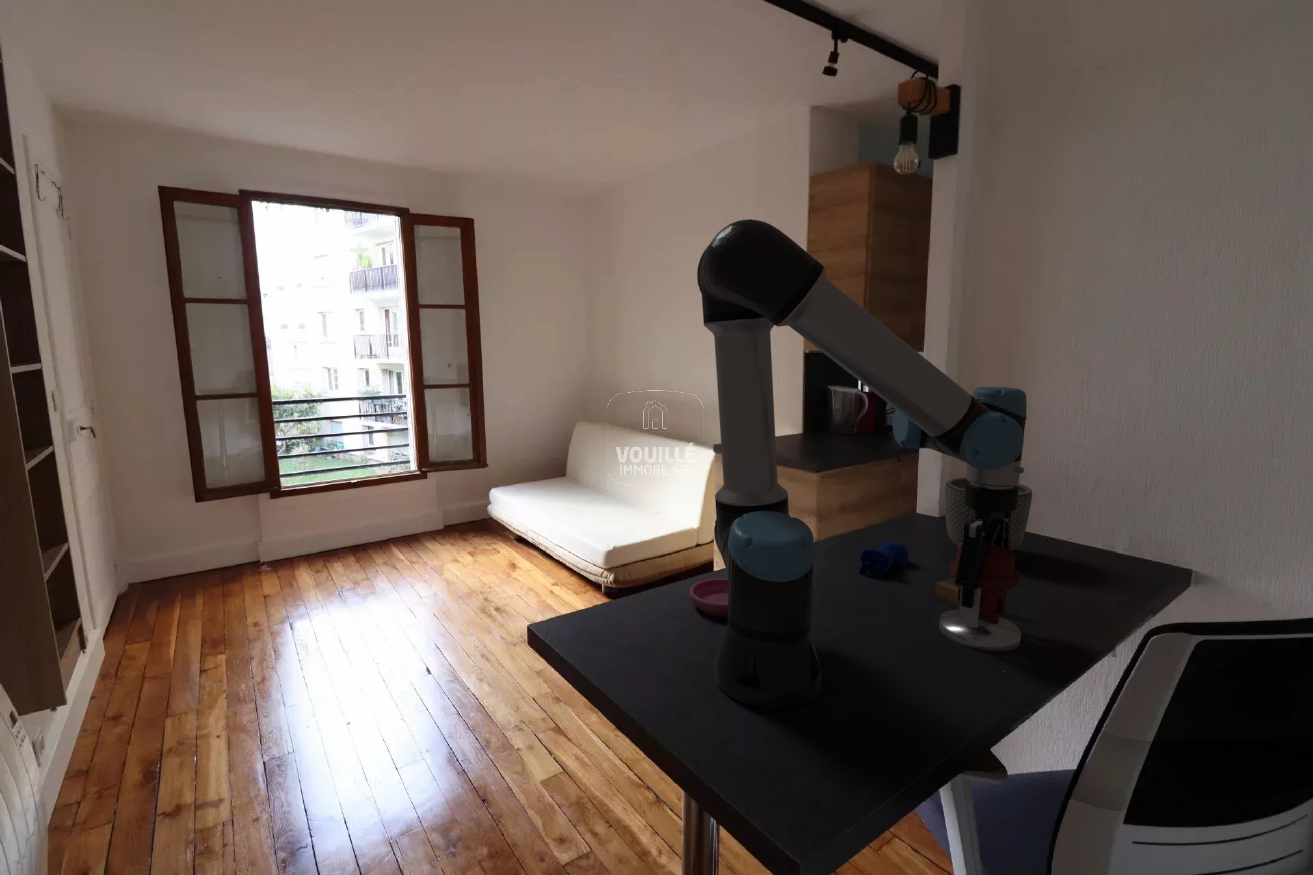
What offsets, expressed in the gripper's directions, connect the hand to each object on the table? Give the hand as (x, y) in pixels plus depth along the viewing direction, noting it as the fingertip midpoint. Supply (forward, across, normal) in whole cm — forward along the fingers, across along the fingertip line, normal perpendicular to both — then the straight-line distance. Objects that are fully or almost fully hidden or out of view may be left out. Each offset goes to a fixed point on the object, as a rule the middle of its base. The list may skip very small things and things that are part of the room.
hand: (980, 614), depth 102 cm
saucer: (+4, -23, +36) cm, 43 cm away
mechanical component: (+1, 0, 0) cm, 1 cm away
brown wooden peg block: (+3, +11, +8) cm, 14 cm away
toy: (+4, +17, +25) cm, 31 cm away
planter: (+4, +42, +14) cm, 44 cm away
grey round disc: (+3, 0, 0) cm, 3 cm away
